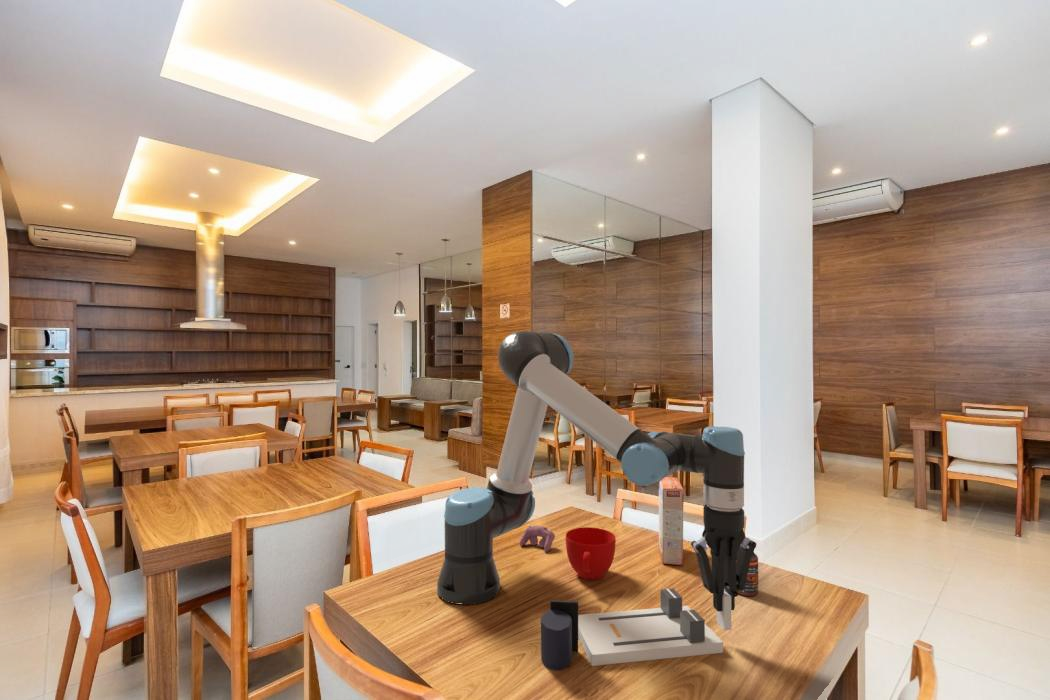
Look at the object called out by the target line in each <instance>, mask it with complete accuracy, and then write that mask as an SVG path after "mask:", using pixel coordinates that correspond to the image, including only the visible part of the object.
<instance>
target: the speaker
mask: <svg viewBox="0 0 1050 700" xmlns="http://www.w3.org/2000/svg"><path fill="white" fill-rule="evenodd" d="M549 603H550V605H549V606H550V609H549V610H547V611H543V613H542V616H541V617H540V651H541V652H540V657H541V658H540V659H541V662H542V663H543V664H544V666H545V667H546V668H547V669H551V670H554V671H563V670H564V669H566V668H568V667H570V665H571V663H572V660H573V653H579V637H578V615H579V601H574V600H573V601H572V600H550V602H549Z"/></svg>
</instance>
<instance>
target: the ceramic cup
mask: <svg viewBox="0 0 1050 700" xmlns="http://www.w3.org/2000/svg"><path fill="white" fill-rule="evenodd" d="M616 542H617V541H616V536H615V534H614V533H613V532H611V531H610V530H606V529H604V528H603V529H602V528H599V527H592V526H591V527H588V526H586V527H577V528H573V529H570V530H568V531H567V532H566V533H565V548H566V549H565V550H566V555H567V557H568V558H567V559H568V561H569V564H570V566H571V567H572V569H573V570H574V571H575V573H577V575H578V577H580V578H582V579H585V580H589V581H590V580H592V581H595V580H596V581H597V580H599V579H602V578H604V575H605V574H606V573H607V572H608V571H609V569H610V568H611V567H612V564H613V562H614V557H615V552H616Z"/></svg>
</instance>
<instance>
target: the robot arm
mask: <svg viewBox="0 0 1050 700" xmlns="http://www.w3.org/2000/svg"><path fill="white" fill-rule="evenodd" d="M574 359H575V358H574V352H573V348H572V347H571V345H570V343H569V342H568V340H567V339H566V338H565V337H564V336H562V335H559V334H557V333H553V332H550V331H549V332H548V331H529V330H518V331H514V332H512V333H510V334H509V335H507V336H506V337H505V338H504V339H503V340H502V342H500V345H499V347H498V351H497V361H498V366H499V368H500V370H501V372H502V373H503V374H504V376H505V377H506V378H507V379H509V381H510V382H512V383H513V384H514V385H515V386H516V387H517V388H516V389H517V390H516V393H515V398H514V401H513V405H512V409H511V413H510V418H509V422H508V425H507V429H506V433H505V438H504V442H503V445H502V450H501V454H500V458H499V462H498V464H497V465H498V466H497V470H496V471H495V472H493V473H491V474H490V475H489V479H488V483H487V487H482V486H470V487H469V488H467V487H465V488H462V489H459V490H456V491H454V492H453V493H451V494H449V496H448V497H447V499H446V500H445V507H444V508H445V509H444V514H443V518H444V560H443V563H442V566H441V569H440V573H439V575H438V579H437V582H436V583H437V584H436V585H437V587H436V593H438V594H437V596H438V595H439V596H440V597H441V598H443V599H444V600H446V601H449V602H453V603H462V604H470V605H475V604H474V603H478V604H482V603H485V602H487V601H489V600H492V599H493V598H495V597H497V596H498V594H499V592H500V589H501V580H500V579H501V578H500V575H499V572H498V569H497V565H496V563H495V560H494V553H493V552H494V550H493V549H494V547H493V544H494V540H493V539H495V538H498V537H500V536H501V535H504V534H507V533H508V532H509V533H510V532H511V531H513V530H516V529H519V528H521V527H522V526H524V524H526V523H527V522H528V521H529V520H530V519H531V518H532V516H533V514H534V511H535V508H536V507H535V506H536V498H535V497H534V496H533V495H534V492H533V490H532V489H533V484H532V482H531V481H530V480H529V479H530V474H531V471H532V467H533V462H534V460H535V456H536V451H537V448H538V444H539V440H540V436H541V432H542V429H543V425H544V421H545V417H546V414H547V409H548V406H549V407H550V408H552V409H553V410H554V411H555V412H556V413H558V414H559V415H560V416H561V417H563V418H564V419H566V421H568V422H569V423H570V424H572V426H574V427H575V428H577V429H578V430H579V431H580V432H582V434H584V435H586V436H587V438H589V439H590V440H591V441H593V442H594V443H595V444H596V445H597V446H599V447H600V448H602V449H603V450H604V451H605V452H606V453H608V454H609V455H611V456H612V457H613V458H614V459H616V460H617V461H618V462H620V463H621V470H622V472H623V474H624V475H625V477H626V479H627V480H628V481H630V482H631V483H633V484H634V485H637V486H650V485H654V484H657V483H659V482H660V481H661V480H662V479H663V478H665V477H669V476H670V475H672V474H674V473H676V472H678V471H679V472H680V471H681V472H689V473H695V474H702V475H703V478H702V479H703V480H702V481H703V491H702V493H703V495H702V497H703V498H702V501H703V503H704V505H703V507H702V509H703V514H702V517H703V518H702V519H703V520H702V521H703V526H704V528H703V531H702V534H701V536H702V537H701V538H699V539H698V540H697V541H696V540H692V541H691V543H690V545H691V547H692V549H693V550H694V552H695V554H696V558H697V564H698V568H699V572H700V576H701V580H702V585H703V587H704V588H705V589H706V590H707V591H708V592H710V594H712V599H713V601H712V607H713V609H715V610H716V623H717V625H718V626H719V627H721V629H722V630H723V631H730V630H731V631H732V611H735V608H736V607H735V605H736V604H735V601H736V597H737V598H738V596H739V594H738V593H737V591H739V590H740V591H743V590H744V588H745V584H746V579H747V574H748V569H749V565H750V560H751V555H752V553H753V551H754V552H755V549H756V547H757V542H755V541H754V540H752V539H750V538H749V537H746V534H745V531H744V528H745V510H744V509H743V508H744V506H745V456H746V455H745V454H746V453H745V447H744V444H745V443H744V434H743V432H742V431H741V430H739V428H735V427H731V426H707V427H705V428H704V429H703V432H702V434H701V435H693V434H692V435H691V434H683V433H673V432H667V431H651V432H648V433H646V432H645V431H643V430H641V429H640V428H639V427H638V426H636V425H635V424H634V423H632V422H631V421H629V420H628V419H627V418H625V417H624V416H623V415H622V414H620V413H619V412H618V411H616V410H615V409H613V408H612V407H610V406H609V405H608V404H606V403H605V402H604V401H602V400H601V399H600V398H598V397H597V396H596V395H594V394H593V393H592V392H590V391H589V390H587V389H586V388H584V387H583V386H582V385H581V384H579V383H578V382H577V381H575V380H574V379H572V378H571V377H570V376H568V373H570V371H571V369H572V368H573V365H574ZM707 546H708V547H707ZM739 547H740V548H739ZM708 548H709V551H710V552H709V553H710V556H711V563H710V560H709V557H708V556H709V555H708V554H707V553H708ZM738 549H739V551H738V556H737V550H738ZM710 564H711V565H710ZM439 596H438V597H439ZM440 597H439V598H440ZM441 598H440V599H441ZM443 599H442V600H443ZM444 600H443V601H444ZM446 601H445V602H446ZM449 602H448V603H449ZM481 602H482V603H481ZM453 603H452V604H453Z"/></svg>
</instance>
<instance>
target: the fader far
mask: <svg viewBox="0 0 1050 700" xmlns="http://www.w3.org/2000/svg"><path fill="white" fill-rule="evenodd" d="M682 606H683V596H682V595H681V594H679V592H677V590H676V589H675V588H663V589H660V608H661V609H662V610H663V612H664V613H665V614H666V615H667V616H668V617H669V618H673V617H680V611H682Z"/></svg>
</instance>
